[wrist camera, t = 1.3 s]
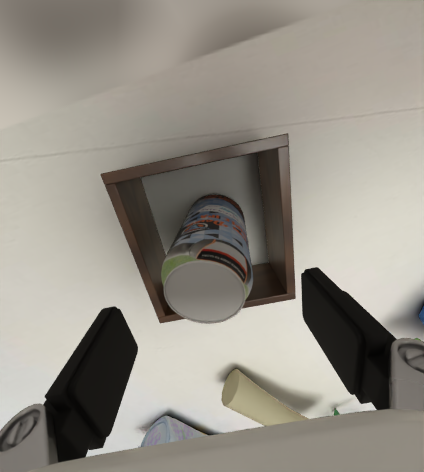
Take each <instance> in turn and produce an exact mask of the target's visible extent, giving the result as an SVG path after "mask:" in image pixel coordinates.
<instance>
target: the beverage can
mask: <svg viewBox="0 0 424 472" xmlns="http://www.w3.org/2000/svg"><path fill="white" fill-rule="evenodd" d="M161 278H162V284H163V287H164V289H163V290H164V296H165V299H166V301H167V303H168V305H169V306H170V307H171V308H172V310H174V311H175V312H176V313H177V314H179V315H180V316H182V317H184V318H186V319H188V320H191V321H193V322H198V323H205V324H211V323H219V322H223V321H226V320H228V319H230V318H232V317H234V316H235V315H236V314H237V313H238V312H239V311H240V310H241V309H242V307H243V305H244V303H245V300H246V298H247V297H248V296H249V293H250V291H251V289H252V284H253V272H252V265H251V259H250V252H249V246H248V239H247V233H246V226H245V220H244V215H243V212H242V210H241V208H240V207H239V205H238V204H237V203H236V202H235V201H234V200H232V199H231V198H229V197H226V196H223V195H216V194H214V195H208V196H204V197H202V198H200V199H199V200H197V201H196V202H195V203H194V204H193V205H192V207H191V209H190V210H189V212H188V214H187V216H186V218H185V220H184V222H183V224H182V226H181V228H180V230H179V232H178V234H177V236H176V238H175V240H174V242H173V244H172V246H171V248H170V250H169V252H168V254H167V256H166V258H165V260H164V263H163V265H162V271H161Z"/></svg>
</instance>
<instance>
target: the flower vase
mask: <svg viewBox="0 0 424 472" xmlns="http://www.w3.org/2000/svg"><path fill="white" fill-rule="evenodd" d="M222 403H223V405H224V406H226V407H228V408H230V409H232V410H234V411H236V412H238V413H240V414H242V415H244V416H246V417H248V418H250V419H252V420H254V421H256V422H258V423H260V424H262V425H264V426H270V425H276V424H282V423H289V422H295V421H301V420H307V419H308V418H307V417H305V416H303V415H301V414H299V413H297V412H295V411H293V410H291V409H289V408H288V407H287V406H285V405H284V404H282V403H281V402H280V401H278V400H277V399H276V398H274V397H273V396H271V395H270V394H269V393H267V392H266V391H264V390H263V389H262V388H260V387H259V386H258V385H256V384H255V383H254V382H252V381H251V380H250V379H249V378H248V377H246V376H245V375H244V374H243V373H241V372H240V371H239V370H238V369H235V370H233V371H232V372H231V373H230V374H229V376H228V378H227V380H226V382H225V384H224V387H223V391H222ZM334 415H340V414H339V413H338V411H337V410H336V409H335V411H334Z"/></svg>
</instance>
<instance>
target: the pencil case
mask: <svg viewBox="0 0 424 472" xmlns="http://www.w3.org/2000/svg"><path fill="white" fill-rule="evenodd" d="M204 436H209V435H207V434H204V433H202V432H200V431H198V430H195V429H193V428H192V427H190V426H188V425H186V424H184V423H182V422H180V421H178V420H177V419H175V418H174V419H173V418H171V417H169V416H163V417H161V418H160V419H158V420H157V421H156V422H155V423H154V424H153V425H152V426H151V427H150V429H149V431H148V432H147V434H146V435H145V437H144V439H143V441H142V444H141V447H146V446H151V445H157V444H163V443H169V442H175V441H180V440H186V439H192V438H198V437H204ZM138 448H139V447H138Z"/></svg>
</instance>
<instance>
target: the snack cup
mask: <svg viewBox="0 0 424 472" xmlns="http://www.w3.org/2000/svg"><path fill="white" fill-rule="evenodd" d="M419 318H420V320H421V322H422V323H423V325H424V306H423V308H422V310H421V312H420V314H419ZM415 339H416V340H420V339H418V338H415ZM420 341H421V340H420Z"/></svg>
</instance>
